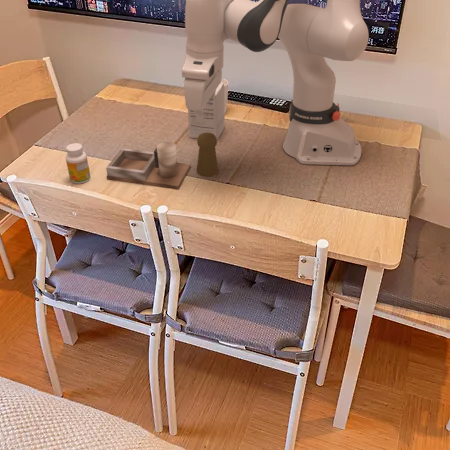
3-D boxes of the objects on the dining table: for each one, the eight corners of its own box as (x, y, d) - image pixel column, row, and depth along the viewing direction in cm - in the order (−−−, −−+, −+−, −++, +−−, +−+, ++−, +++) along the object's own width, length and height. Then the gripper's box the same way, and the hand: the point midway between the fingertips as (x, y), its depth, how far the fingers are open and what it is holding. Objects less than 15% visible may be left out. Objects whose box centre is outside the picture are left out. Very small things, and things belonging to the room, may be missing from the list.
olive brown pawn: (221, 167, 146) (221, 131, 139) (214, 178, 141) (213, 142, 135) (201, 163, 147) (200, 128, 141) (193, 174, 143) (191, 138, 136)
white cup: (228, 117, 170) (228, 87, 164) (203, 116, 170) (202, 87, 164) (228, 106, 176) (228, 77, 170) (204, 106, 176) (203, 77, 170)
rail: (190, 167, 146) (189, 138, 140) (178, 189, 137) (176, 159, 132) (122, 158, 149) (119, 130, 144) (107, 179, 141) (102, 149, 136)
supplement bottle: (66, 177, 142) (59, 145, 136) (85, 171, 144) (79, 139, 138) (75, 186, 138) (68, 154, 132) (94, 179, 141) (88, 147, 135)
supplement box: (197, 124, 166) (196, 78, 157) (225, 128, 164) (225, 82, 155) (188, 137, 159) (186, 90, 150) (216, 141, 157) (216, 94, 148)
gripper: (203, 44, 134) (204, 95, 142) (179, 72, 118) (181, 129, 126) (228, 46, 133) (227, 98, 141) (206, 75, 117) (206, 132, 125)
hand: (205, 113), depth 134 cm, fingers open, 8 cm apart
